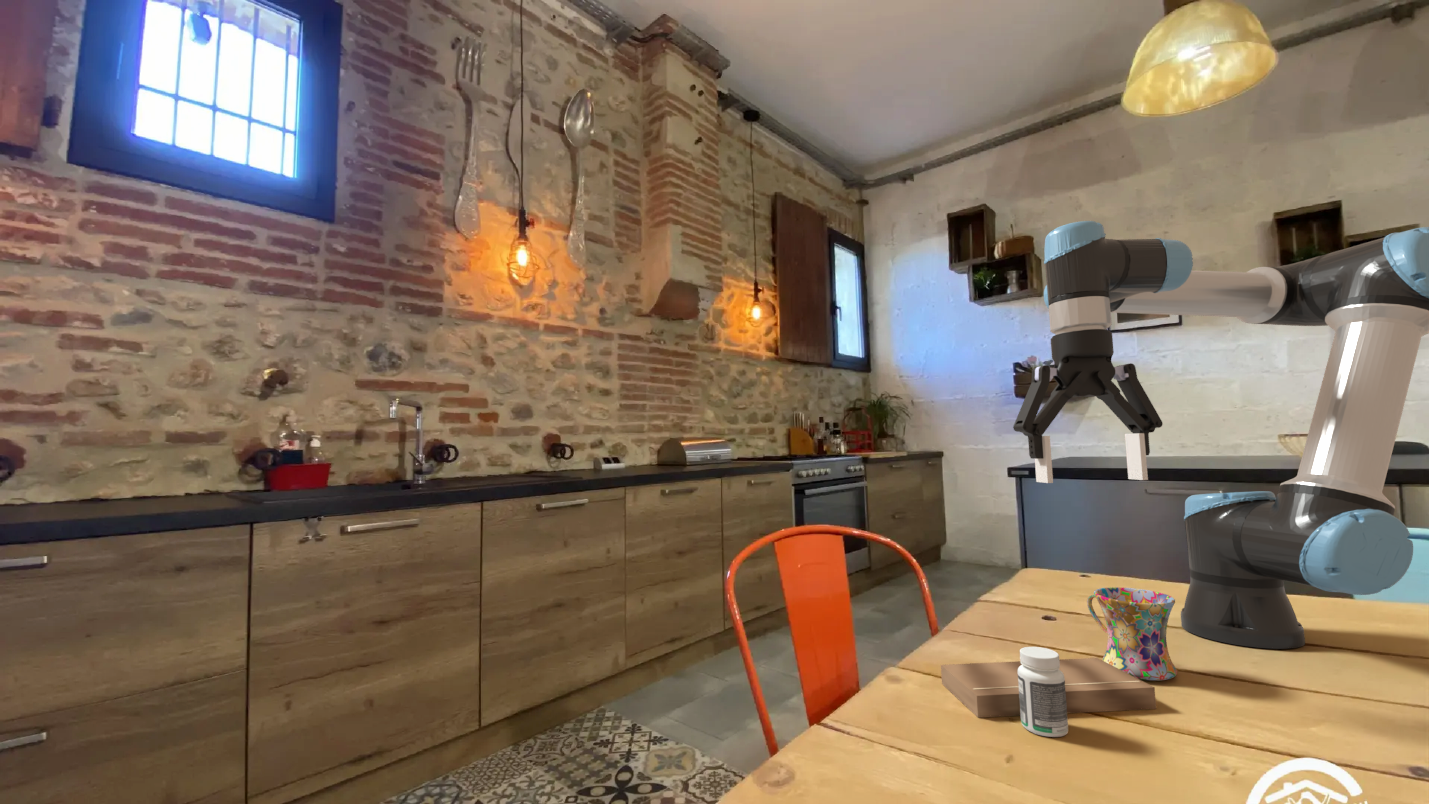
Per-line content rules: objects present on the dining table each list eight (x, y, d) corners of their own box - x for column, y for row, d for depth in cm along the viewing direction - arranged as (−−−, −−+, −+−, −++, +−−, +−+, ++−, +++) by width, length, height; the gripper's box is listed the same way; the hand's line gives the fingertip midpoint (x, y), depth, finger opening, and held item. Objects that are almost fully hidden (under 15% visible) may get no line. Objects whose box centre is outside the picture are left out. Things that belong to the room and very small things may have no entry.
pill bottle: (1078, 733, 66) (1073, 655, 66) (1047, 742, 64) (1042, 662, 65) (1041, 715, 70) (1036, 643, 71) (1011, 723, 68) (1006, 648, 69)
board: (1098, 676, 81) (1097, 657, 81) (1156, 708, 71) (1154, 686, 71) (941, 683, 80) (940, 664, 80) (977, 717, 70) (976, 695, 70)
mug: (1199, 680, 79) (1192, 599, 80) (1146, 690, 76) (1139, 606, 77) (1116, 651, 90) (1110, 581, 91) (1067, 659, 88) (1062, 586, 89)
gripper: (1143, 335, 89) (1155, 476, 87) (982, 338, 88) (991, 482, 86) (1185, 325, 81) (1199, 479, 80) (1010, 328, 80) (1020, 485, 79)
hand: (1091, 481), depth 83 cm, fingers open, 13 cm apart
